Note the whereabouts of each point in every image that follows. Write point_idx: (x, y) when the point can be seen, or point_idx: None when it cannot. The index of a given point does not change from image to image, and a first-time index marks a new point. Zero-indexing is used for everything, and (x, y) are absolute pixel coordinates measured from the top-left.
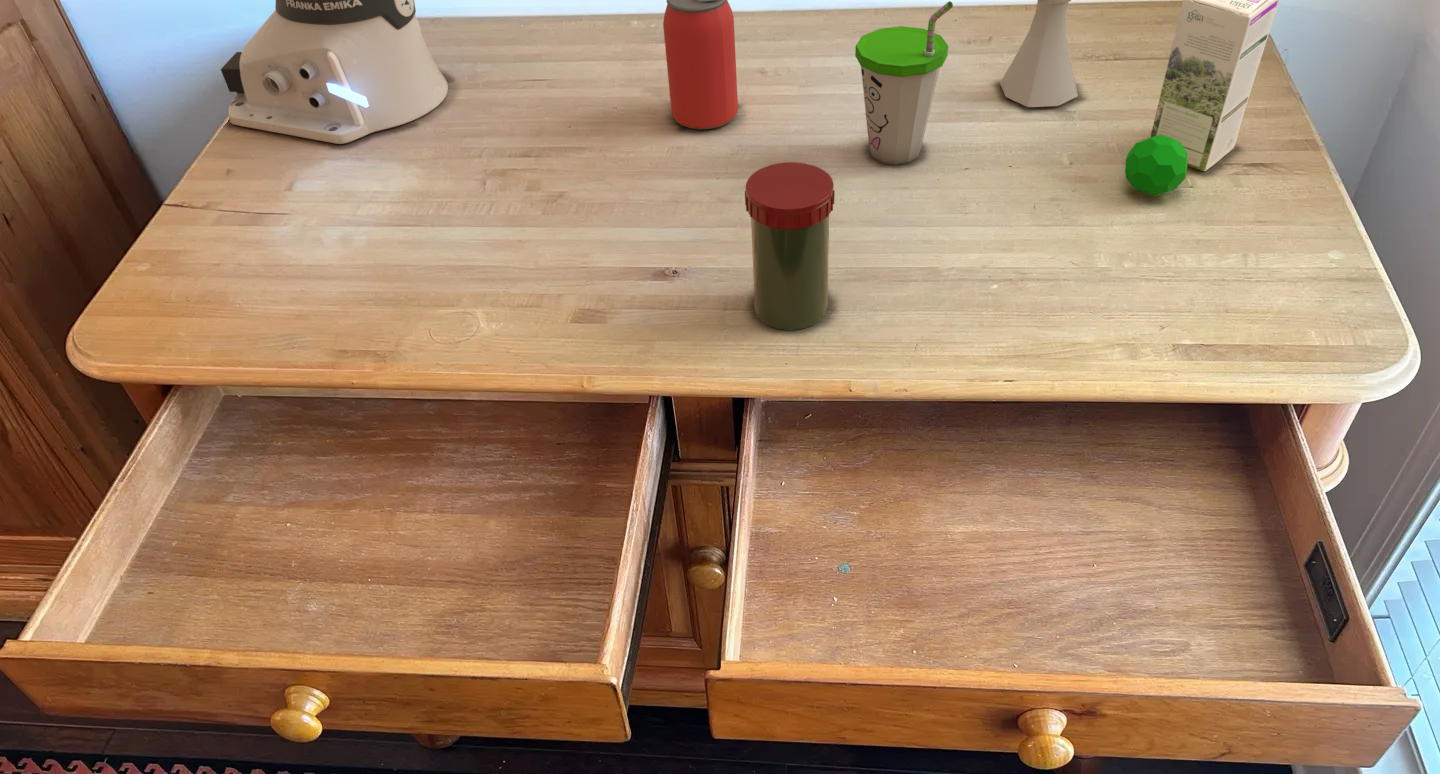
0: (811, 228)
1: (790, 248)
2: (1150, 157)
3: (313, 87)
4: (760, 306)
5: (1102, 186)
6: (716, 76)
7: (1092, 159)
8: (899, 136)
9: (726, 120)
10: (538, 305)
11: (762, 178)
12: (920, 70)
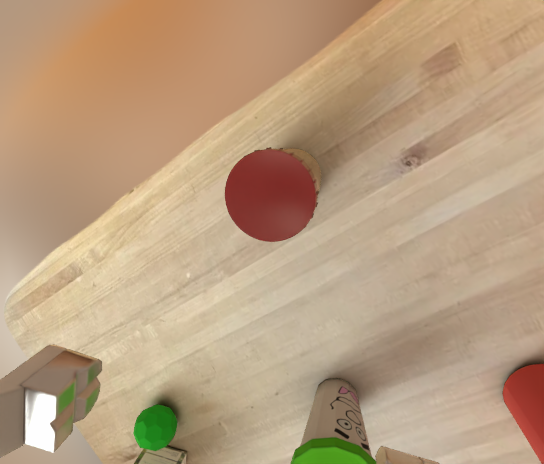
0: None
1: None
2: (147, 425)
3: None
4: (300, 150)
5: (190, 406)
6: (536, 416)
7: (211, 433)
8: (321, 397)
9: (505, 384)
10: (504, 42)
11: (300, 192)
12: (298, 451)
